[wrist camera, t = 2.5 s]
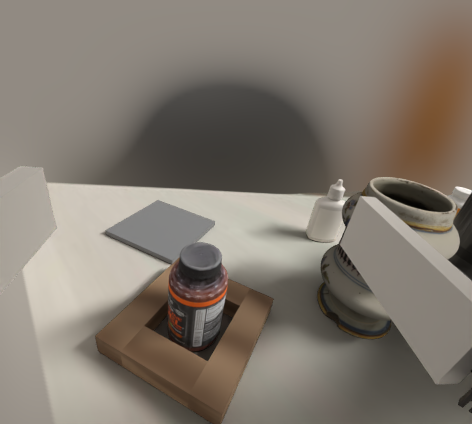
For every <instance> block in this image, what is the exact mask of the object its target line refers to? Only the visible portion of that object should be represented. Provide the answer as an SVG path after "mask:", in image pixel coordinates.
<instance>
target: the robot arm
mask: <svg viewBox="0 0 472 424" xmlns="http://www.w3.org/2000/svg"><path fill="white" fill-rule="evenodd" d="M453 225H454V226H455V228H456V230H457V232H458V234H459V238H460V244H459V248H458V250H457V252H456V253H455V254H454V255H453V256H452V257H451V258H449V259H448V260H447V259H446V258H445V257H444V256H442V255H441V254H440V253H439V252H438V251H437V250H436V249H434V248H433V247H432V246H431V245H430V244H429V243H427V242H426V241H425V240H424V239H423V238H422V237H421V236H419V235H418V234H417V233H416V232H415V231H414V230H413V229H411V228H410V227H409V226H408V225H407V224H406V223H404V222H403V221H402V220H401V219H400V218H399V217H398V216H396V215H395V214H394V213H393V212H392V211H391V210H389V209H388V208H387V207H386V206H385V205H384V204H383V203H381V202H380V201H379V200H378V199H377V198H376V197H366V196H360V197H359V200H358V202H357V205H356V207H355V209H354V212H353V214H352V217H351V219H350V221H349V224H348V226H347V229H346V231H345V233H344V236H343V238H342V241H341V243H340V245H341V247H342V248H343V250H344V251H345V253H346V254H347V256H348V257H349V258H350V260H351V261H352V263H353V264H354V266H355V267H356V269H357V270H358V272H359V273H360V274H361V276H362V277H363V279H364V280H365V282H366V283H367V285H368V286H369V288H370V289H371V290H372V292H373V293H374V295H375V296H376V298H377V299H378V301H379V302H380V304H381V305H382V306H383V308H384V309H385V311H386V312H387V314H388V315H389V317H390V318H391V320H392V321H393V322H394V324H395V325H396V327H397V328H398V330H399V331H400V333H401V334H402V336H403V337H404V338H405V340H406V341H407V343H408V344H409V346H410V347H411V349H412V350H413V352H414V353H415V354H416V356H417V357H418V359H419V360H420V362H421V363H422V365H423V366H424V368H425V369H426V371H427V372H428V373H429V375H430V376H431V378H432V379H433V381H434V382H435V384H459V383H460V382H461V381H462V380H463V379H464V378H465V377H466V376H467V375H468V374H469V373H470V372H472V192H471V194H470V195H469V197H468V199H467V200H466V202H465V203H464V205H463V206H462V208H461V209H460V211H459V212H458V214H457V215H456V217H455V218H454V220H453ZM56 229H57V226H56V222H55V218H54V214H53V209H52V205H51V201H50V197H49V192H48V188H47V184H46V180H45V176H44V172H43V168H36V167H26V166H19V167H18V168H16V169H15V170H13V171H11V172H10V173H8V174H6V175H5V176H3V177H2V178H0V294H1V293H2V292H3V291H4V290H5V289H6V287H7V286H8V285H9V284H10V283H11V281H12V280H13V279H14V278H15V277H16V275H17V274H18V273H19V272H20V271H21V270H22V269H23V267H24V266H25V265H26V264H27V263H28V261H29V260H30V259H31V258H32V257H33V256H34V254H35V253H36V252H37V251H38V250H39V249H40V247H41V246H42V245H43V244H44V243H45V241H46V240H47V239H48V238H49V237H50V236H51V234H52V233H53V232H54V231H55V230H56ZM470 401H472V388H471V389H470V390H469V391H468V392H467V393H466V394H465V395H464V396H463V397H461V398H460V399H459V404H458V405H459V406H461V407H462V408H463V407H464V406H465V405H466V404H467V403H468V402H470ZM469 412H471V413H472V408H471V409H470V410H469Z"/></svg>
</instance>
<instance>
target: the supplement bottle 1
mask: <svg viewBox="0 0 472 424" xmlns="http://www.w3.org/2000/svg"><path fill="white" fill-rule="evenodd" d="M221 261H222V254H221V252H220V251H219V249H218V248H216V247H215V246H213V245H211V244H208V243H203V242H197V243H192V244H189V245H187V246H185V247H184V248H183V249H182V250H181V252H180V259H179V261H178V262H177V263H176V264H175V265H174V266H173V267H172V269H171V271H170V274H169V284H168V333H169V336H170V339H171V340H172V342H174V343H176V344H178V345H179V346H181V347H183V348H185V349H187V350H188V351H200V350H203V349H206V348H207V347H209V346H210V345H211V344H212V343H213V342H214V341H215V340H216V338H217V336H218V334H219V330H220V326H221V320H222V315H223V309H224V303H225V298H226V292H227V286H228V274H227V271H226V269H225V267H224V266H223V265H222V264H221Z"/></svg>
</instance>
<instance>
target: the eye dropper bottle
mask: <svg viewBox="0 0 472 424" xmlns="http://www.w3.org/2000/svg"><path fill="white" fill-rule="evenodd" d="M342 183H343V180H341V179H339V180H338V181H337V183H336V184H335V185H331V187H330V190H329V193H328V196H326V197H322V198H319V199H318V200H317V201H316V202H315V205H314V208H313V211H312V214H311V217H310V220H309V223H308V226H307V229H306V234H307V236H308V238H309V239H311V240H314V241H319V242H332V241H335V240H336V238H337V235H338V233H339V230H340V228H341V225H342V223H343V219H342V208H343V205H344V203H345V202H344V201H343V200H341V199H342V197H343V194H344V191H345V189H344V187H342Z"/></svg>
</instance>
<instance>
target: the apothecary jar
mask: <svg viewBox="0 0 472 424" xmlns="http://www.w3.org/2000/svg"><path fill="white" fill-rule="evenodd" d="M360 196H366V197H376V198H377V199H378V200H379V201H380V202H381V203H383V204H384V205H385V206H386V207H387V208H388V209H389V210H391V211H392V212H393V213H394V214H395V215H396V216H398V217H399V218H400V219H401V220H402V221H403V222H404V223H406V224H407V225H408V226H409V227H410V228H411V229H413V230H414V231H415V232H416V233H417V234H418V235H419V236H421V237H422V238H423V239H424V240H425V241H426V242H427V243H429V244H430V245H431V246H432V247H433V248H434V249H436V250H437V251H438V252H439V253H440V254H441V255H442V256H444V257H445V258H446V259H447V260H448V259H449V258H451V257H452V256H453V255H454V254H455V253H456V252H457V250H458V248H459V244H460V238H459V234H458V232H457V230H456V228H455V226H454V225H453V219H454V217H455V215H456V212H457V209H458V207H457V204H456V203H455V202H454V201H453V200H452V199H451V198H450V197H448V196H446V195H445V194H443V193H441V192H439V191H437V190H435V189H432V188H430V187H428V186H425V185H422V184H419V183H416V182H413V181H408V180H404V179H399V178H391V177H379V178H375V179H373V180H371V181H370V182H369V184H368V185H367V187H366V188H365V189H364V191H363V192H360V193H357V194H355V195H353V196H351V197H350V198H349V199H348V200H347V201H346V202H345V203H344V205H343V208H342V219H343V222H344V224H345V226H346V228H345V231H346V229H347V226H348V224H349V221H350V219H351V217H352V214H353V212H354V209H355V207H356V205H357V202H358V200H359V197H360ZM345 231H344V233H345ZM344 233H343V235H342V238H343V236H344ZM342 238H341V240H340V242H339V244H337V245H335V246H333V247H331V248H330V249H329V250H328V251H327V252H326V253H325V254H324V256H323V258H322V261H321V273H322V277H323V279H324V283H323V284H322V285H321V286H320V287H319V290H318V295H317V297H318V302H319V305H320V307H321V309H322V311H323V312H324V314H325V315H326V316H328V317H329V318H331V319H333V320H334V321H335V322H336V323H337V325H338V327H339V328H340V329H342V330H344V331H345V332H347V333H349V334H351V335H353V336H356V337H360V338H365V339H377V338H381V337H383V336H384V335H386V334H387V333H388V331H389V330H390V327H391V321H392V320H391V318H390V317H389V315H388V314H387V312H386V311H385V309H384V308H383V306H382V305H381V304H380V302H379V301H378V299H377V298H376V296H375V295H374V293H373V292H372V290H371V289H370V288H369V286H368V285H367V283H366V282H365V280H364V279H363V277H362V276H361V274H360V273H359V272H358V270H357V269H356V267H355V266H354V264H353V263H352V261H351V260H350V258H349V257H348V256H347V254H346V253H345V251H344V250H343V248H342V247H341V245H340V243H341V241H342Z"/></svg>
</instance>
